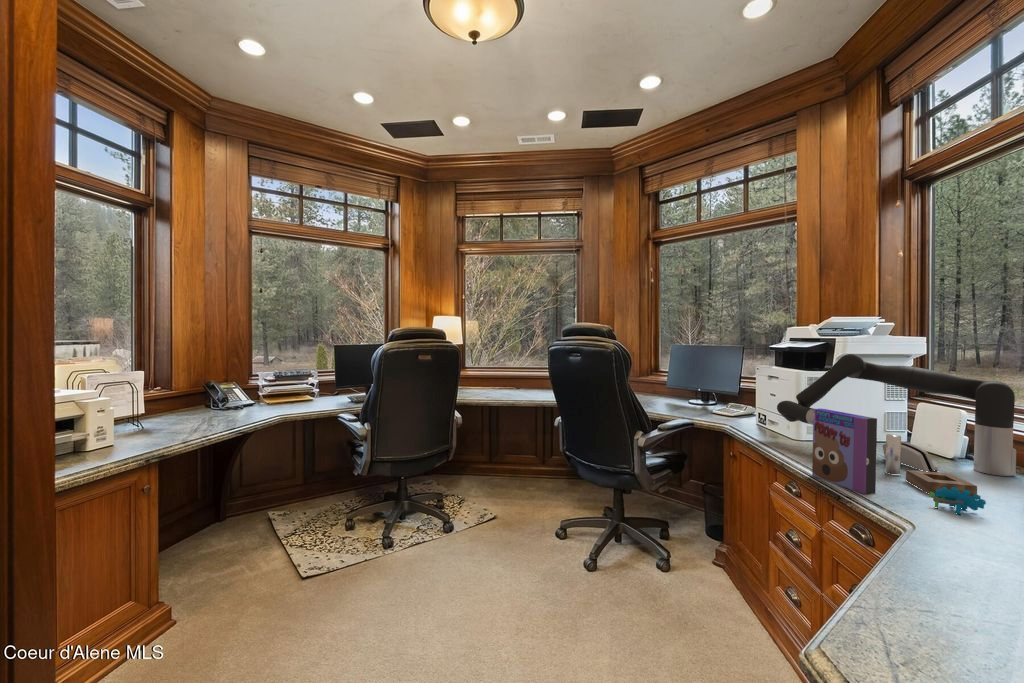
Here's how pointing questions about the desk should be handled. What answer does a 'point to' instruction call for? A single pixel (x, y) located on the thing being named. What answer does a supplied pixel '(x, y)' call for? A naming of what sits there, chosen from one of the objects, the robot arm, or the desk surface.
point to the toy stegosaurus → (957, 499)
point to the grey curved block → (914, 457)
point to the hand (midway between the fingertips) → (861, 427)
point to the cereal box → (845, 449)
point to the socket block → (938, 481)
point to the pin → (893, 454)
